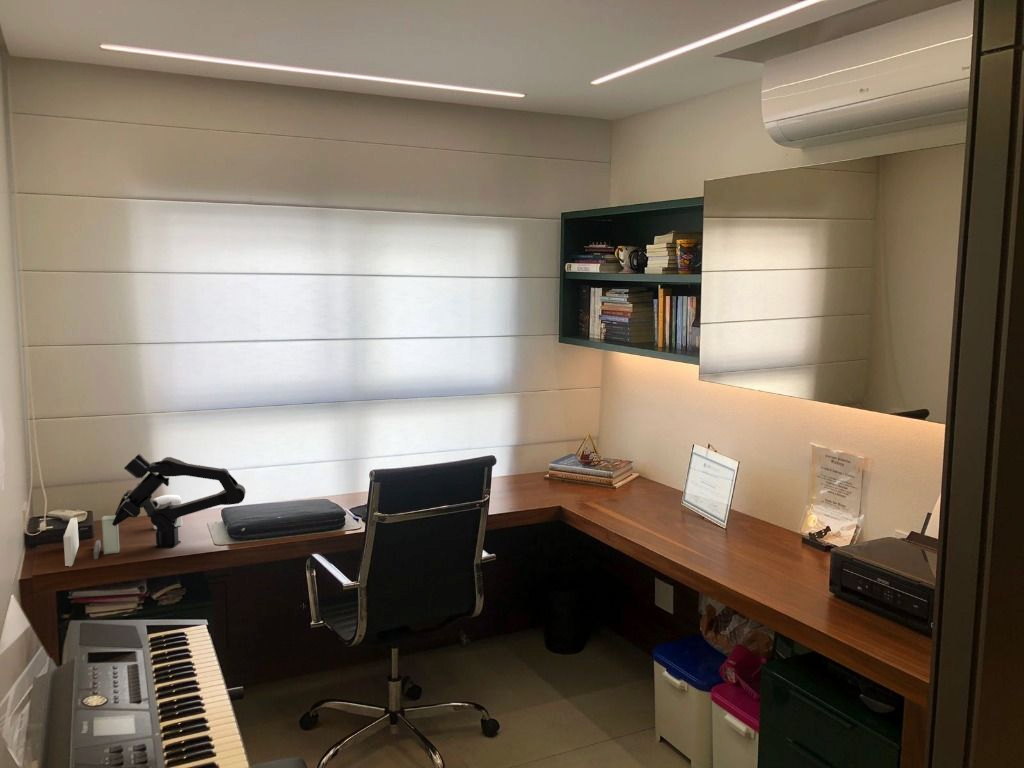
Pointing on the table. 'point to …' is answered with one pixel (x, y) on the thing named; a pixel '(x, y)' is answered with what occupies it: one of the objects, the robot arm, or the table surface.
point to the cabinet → (110, 535)
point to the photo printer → (175, 501)
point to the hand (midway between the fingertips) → (114, 521)
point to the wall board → (75, 543)
